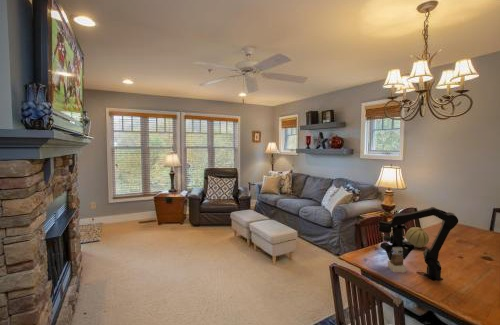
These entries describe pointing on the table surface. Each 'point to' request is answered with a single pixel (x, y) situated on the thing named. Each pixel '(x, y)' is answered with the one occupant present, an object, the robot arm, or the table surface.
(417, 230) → the cantaloupe
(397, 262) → the walnut cube
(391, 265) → the cream block
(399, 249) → the light bulb box
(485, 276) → the table surface
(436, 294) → the table surface
